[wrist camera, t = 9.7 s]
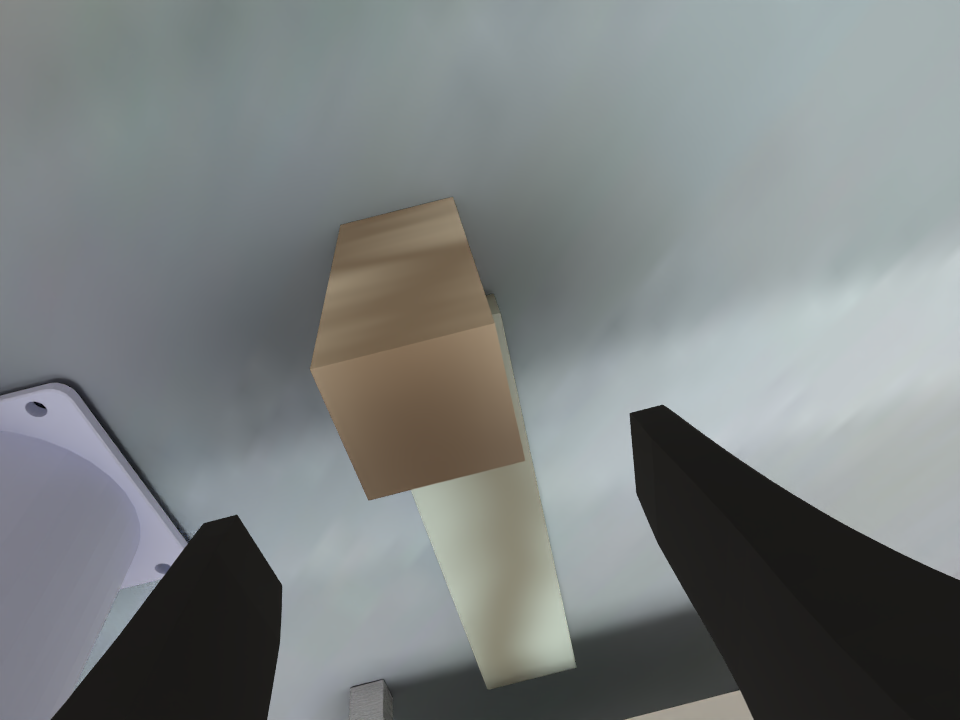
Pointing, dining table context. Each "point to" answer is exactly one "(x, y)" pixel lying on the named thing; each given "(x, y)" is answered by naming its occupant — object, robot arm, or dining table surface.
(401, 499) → the dining table surface
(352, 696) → the cream toy bench
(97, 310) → the dining table surface
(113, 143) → the dining table surface
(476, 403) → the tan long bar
